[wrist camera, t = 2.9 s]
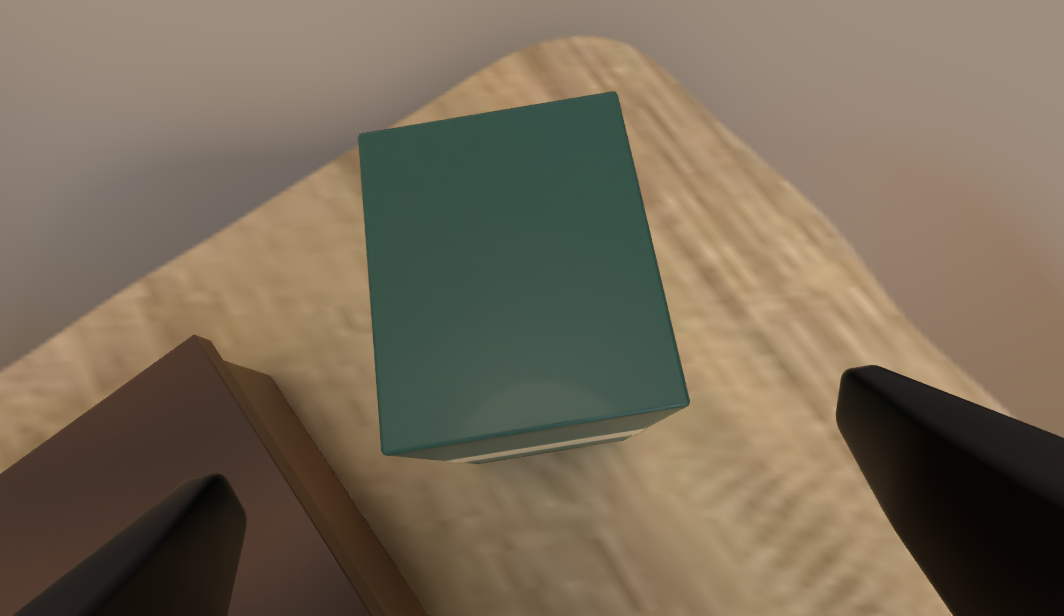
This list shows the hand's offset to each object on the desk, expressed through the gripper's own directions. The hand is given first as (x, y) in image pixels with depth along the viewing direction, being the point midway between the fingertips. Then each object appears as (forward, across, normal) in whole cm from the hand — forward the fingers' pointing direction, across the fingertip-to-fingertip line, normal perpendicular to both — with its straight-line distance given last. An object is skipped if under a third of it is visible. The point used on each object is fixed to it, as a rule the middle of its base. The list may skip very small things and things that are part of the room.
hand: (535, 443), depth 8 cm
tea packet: (+10, 0, +5) cm, 11 cm away
